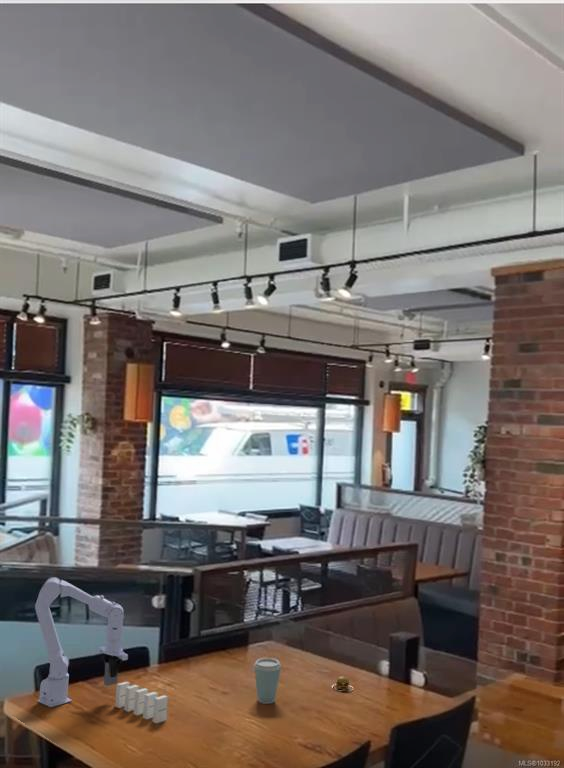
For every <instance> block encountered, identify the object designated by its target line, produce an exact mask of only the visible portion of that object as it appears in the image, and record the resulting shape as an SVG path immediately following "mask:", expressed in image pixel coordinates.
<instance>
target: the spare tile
mask: <svg viewBox="0 0 564 768" xmlns="http://www.w3.org/2000/svg"><path fill="white" fill-rule="evenodd" d="M110 670H111V668H110V662H105V665H104V680H103V684H104V686H108V687H109V686H112V685H114V684H116V685H117V684H118V678H119V677H118V675H119V674H118V673H119V671H118V672H117V675H116V677H111V674H110Z"/></svg>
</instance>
